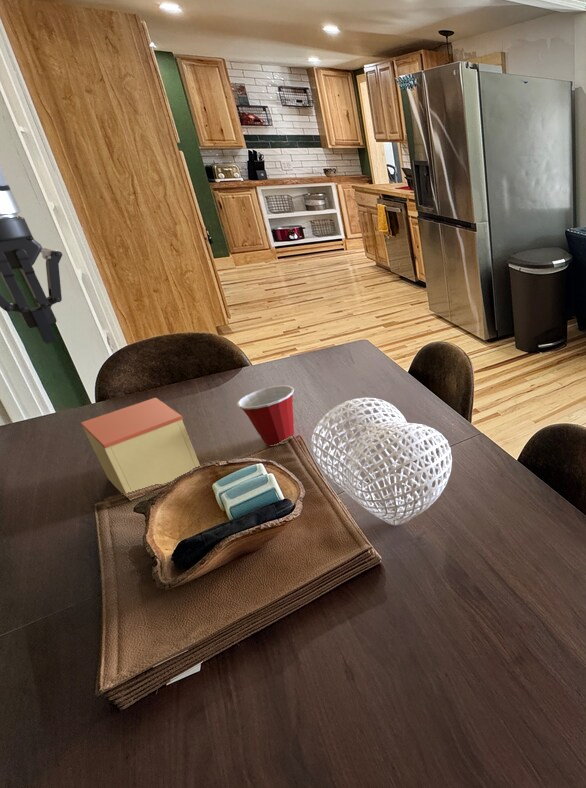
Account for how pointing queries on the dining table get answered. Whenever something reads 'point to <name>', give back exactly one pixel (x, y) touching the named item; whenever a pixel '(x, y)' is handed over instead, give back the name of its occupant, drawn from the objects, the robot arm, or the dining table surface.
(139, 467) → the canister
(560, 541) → the dining table surface
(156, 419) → the lid
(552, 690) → the dining table surface
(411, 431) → the heart
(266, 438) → the plastic cup
